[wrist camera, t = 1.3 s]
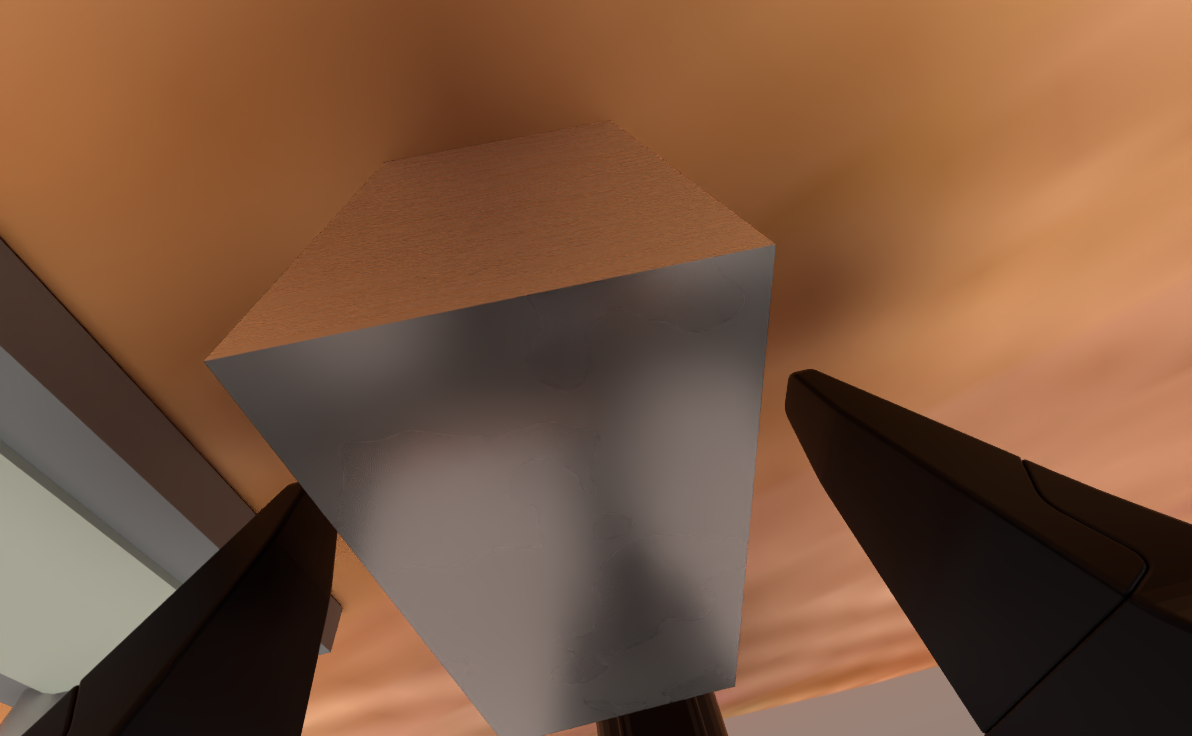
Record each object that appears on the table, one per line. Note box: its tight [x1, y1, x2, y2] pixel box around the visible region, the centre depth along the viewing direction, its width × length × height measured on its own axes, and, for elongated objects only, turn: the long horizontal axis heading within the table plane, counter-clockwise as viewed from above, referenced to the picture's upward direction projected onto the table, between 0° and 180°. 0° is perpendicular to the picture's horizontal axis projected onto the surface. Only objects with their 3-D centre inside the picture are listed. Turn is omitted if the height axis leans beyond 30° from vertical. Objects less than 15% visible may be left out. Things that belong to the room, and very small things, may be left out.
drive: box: [204, 120, 776, 736], centre depth 9 cm, size 9×5×7 cm, turn 8°
